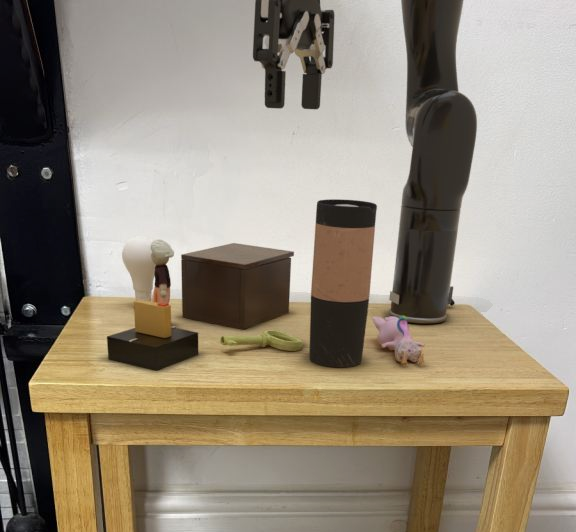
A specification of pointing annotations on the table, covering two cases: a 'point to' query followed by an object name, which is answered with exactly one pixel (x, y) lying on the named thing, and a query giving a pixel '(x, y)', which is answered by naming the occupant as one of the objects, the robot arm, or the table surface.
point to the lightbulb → (140, 266)
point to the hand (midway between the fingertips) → (292, 108)
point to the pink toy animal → (398, 339)
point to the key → (265, 340)
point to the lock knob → (152, 318)
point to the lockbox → (235, 293)
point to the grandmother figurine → (161, 270)
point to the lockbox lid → (237, 255)
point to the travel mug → (341, 281)
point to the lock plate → (152, 348)
